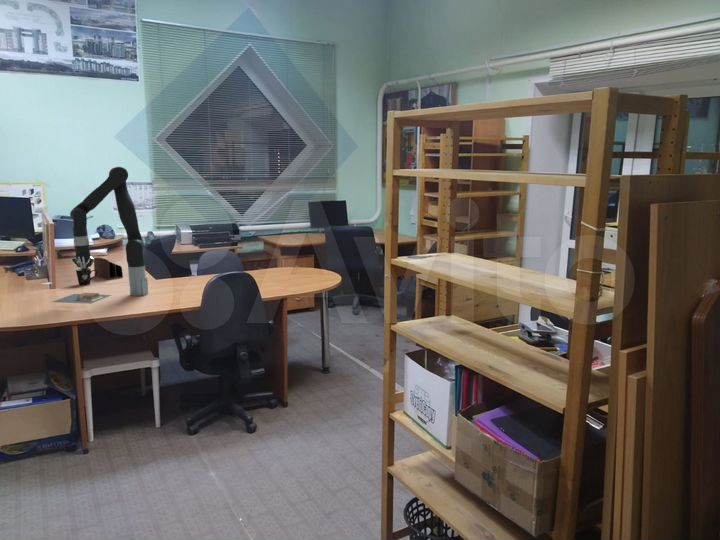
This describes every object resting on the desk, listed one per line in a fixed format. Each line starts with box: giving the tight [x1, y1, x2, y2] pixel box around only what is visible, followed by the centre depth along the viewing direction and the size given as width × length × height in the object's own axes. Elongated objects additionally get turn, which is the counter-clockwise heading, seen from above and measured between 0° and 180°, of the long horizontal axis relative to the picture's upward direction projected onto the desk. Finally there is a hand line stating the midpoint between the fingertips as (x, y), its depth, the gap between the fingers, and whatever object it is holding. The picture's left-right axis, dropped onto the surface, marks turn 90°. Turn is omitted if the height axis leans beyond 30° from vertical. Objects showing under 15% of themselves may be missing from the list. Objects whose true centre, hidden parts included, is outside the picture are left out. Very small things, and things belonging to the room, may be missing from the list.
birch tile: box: [77, 292, 100, 300], centre depth 306 cm, size 2×7×9 cm
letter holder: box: [93, 257, 124, 281], centre depth 371 cm, size 10×20×14 cm, turn 53°
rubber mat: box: [51, 293, 112, 304], centre depth 307 cm, size 24×20×1 cm
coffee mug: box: [75, 267, 97, 286], centre depth 348 cm, size 12×9×10 cm
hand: (85, 274), depth 303 cm, fingers closed
